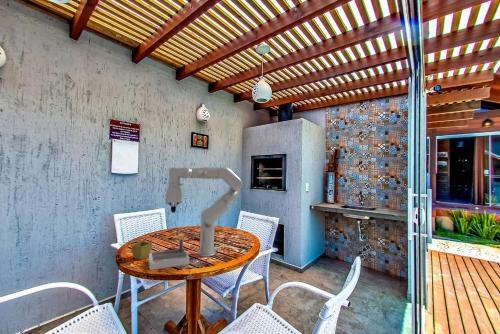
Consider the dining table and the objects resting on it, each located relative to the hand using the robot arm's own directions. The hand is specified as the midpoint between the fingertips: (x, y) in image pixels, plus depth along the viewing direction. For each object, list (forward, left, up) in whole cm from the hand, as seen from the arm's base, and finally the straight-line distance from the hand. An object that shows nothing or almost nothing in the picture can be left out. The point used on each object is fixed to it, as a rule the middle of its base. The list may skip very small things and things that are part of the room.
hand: (173, 212), depth 150 cm
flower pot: (+18, -2, -29) cm, 34 cm away
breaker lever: (-3, +13, -24) cm, 28 cm away
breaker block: (+3, +13, -29) cm, 32 cm away
